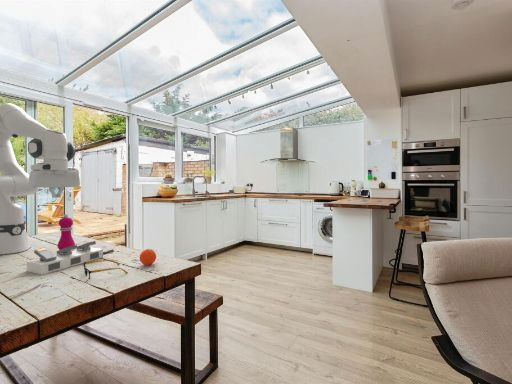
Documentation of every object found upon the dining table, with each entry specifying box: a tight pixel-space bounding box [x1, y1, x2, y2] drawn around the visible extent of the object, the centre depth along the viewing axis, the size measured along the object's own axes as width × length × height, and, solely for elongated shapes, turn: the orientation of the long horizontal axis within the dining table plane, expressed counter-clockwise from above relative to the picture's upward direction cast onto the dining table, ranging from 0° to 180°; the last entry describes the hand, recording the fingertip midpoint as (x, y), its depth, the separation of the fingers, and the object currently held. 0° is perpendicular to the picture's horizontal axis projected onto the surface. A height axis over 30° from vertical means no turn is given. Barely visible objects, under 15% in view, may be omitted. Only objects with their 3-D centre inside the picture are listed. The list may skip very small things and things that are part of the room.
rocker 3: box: [76, 240, 97, 250], centre depth 133 cm, size 8×4×2 cm, turn 67°
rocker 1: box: [33, 247, 57, 262], centre depth 117 cm, size 8×4×2 cm, turn 68°
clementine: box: [139, 248, 158, 266], centre depth 125 cm, size 8×7×7 cm
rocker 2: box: [56, 244, 78, 254], centre depth 125 cm, size 8×4×2 cm, turn 67°
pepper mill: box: [57, 213, 76, 251], centre depth 140 cm, size 7×7×20 cm
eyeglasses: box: [82, 259, 129, 280], centre depth 115 cm, size 14×14×4 cm
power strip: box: [26, 246, 115, 275], centre depth 130 cm, size 10×37×5 cm, turn 158°
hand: (56, 197), depth 127 cm, fingers closed
